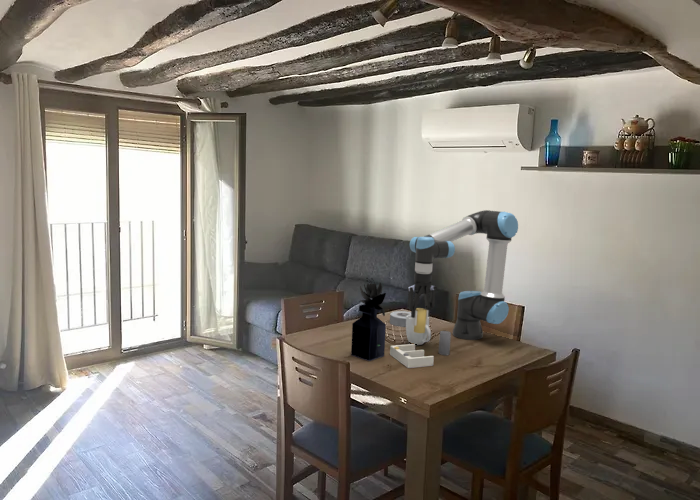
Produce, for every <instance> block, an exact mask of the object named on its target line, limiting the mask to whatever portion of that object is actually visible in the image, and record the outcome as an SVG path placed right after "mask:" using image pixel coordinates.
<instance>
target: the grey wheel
mask: <svg viewBox="0 0 700 500" xmlns="http://www.w3.org/2000/svg"><path fill="white" fill-rule="evenodd" d="M410 314H411V311H404V310H403V311H401V310H398V311H397V310H396V311H392V312H390V314H389V324H390V325H392V326H395V327H398V328H400V327H401V328H406V316H407V315H410Z"/></svg>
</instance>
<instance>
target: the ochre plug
mask: <svg viewBox="0 0 700 500" xmlns="http://www.w3.org/2000/svg"><path fill="white" fill-rule="evenodd" d="M416 311H417V325H416V326H415V325H414V332H416V333H425V326H426V311H427V310H426V308H423V307H417V308H416Z"/></svg>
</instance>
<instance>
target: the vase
mask: <svg viewBox="0 0 700 500" xmlns="http://www.w3.org/2000/svg"><path fill="white" fill-rule="evenodd" d="M370 279H371V280H372V281H373V283H372V281H371V280H369V278H368V277H366V282H368V283H367V284H363V286H364V287H363V288H364V290H365V291H364V290H363V288H362V286H361V285H360V287H359V292H360V294H361V297H363V299H362V300H361V299H359V301H360V302H361V303H363V304H361V305H358V311H359V312H360V313H362V315H361V316H360V317H359V318H358V319H356V320H355V321H354V322H352V324H351V329H352V330H351V349H350V351H351V352H350V355H351V356H352V357H356V358H359V359H362V360H365V361H367V362H371V361H374V360H377V359H380V358H382V357H385V348H386V347H385V346H386V328H387V326H386V325H387V324H386V323H385V322H384V321H382V320H381V319H380V318H379V317H378V316H377V315H378V313H380V314H382V316H383V317H385V315H386V312H385V311H386V310H385V309H384V307H383V305H382V304H383V302H384V300H385V298H386V296H387V292H384V293H382V292H383V284H382V282H379V283H378V286H377V283H375V280H374V279H373V277H371V278H370Z"/></svg>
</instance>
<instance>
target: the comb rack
mask: <svg viewBox="0 0 700 500" xmlns="http://www.w3.org/2000/svg"><path fill="white" fill-rule="evenodd" d="M389 348H390V349H389V355H390V356H391V357H393V359H395V360H396V361H398V362H399V363H401V365H404V366H405V367H406V368H407V369H413V368H423V367H434V363H435V362H434V360H435V356H434V355H428V356H426V355H425V350H424V349H417V350H416V345H415V344H410V343H407V344H396V345H390V347H389Z"/></svg>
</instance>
